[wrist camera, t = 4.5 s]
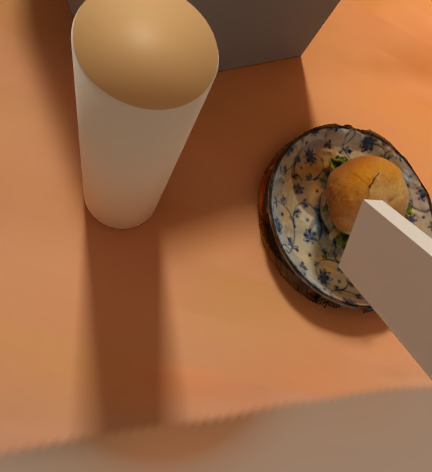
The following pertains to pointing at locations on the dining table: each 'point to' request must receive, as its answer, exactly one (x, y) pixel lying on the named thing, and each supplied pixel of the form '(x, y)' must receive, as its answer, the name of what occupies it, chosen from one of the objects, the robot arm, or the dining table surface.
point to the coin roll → (137, 99)
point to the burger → (332, 205)
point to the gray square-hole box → (258, 27)
